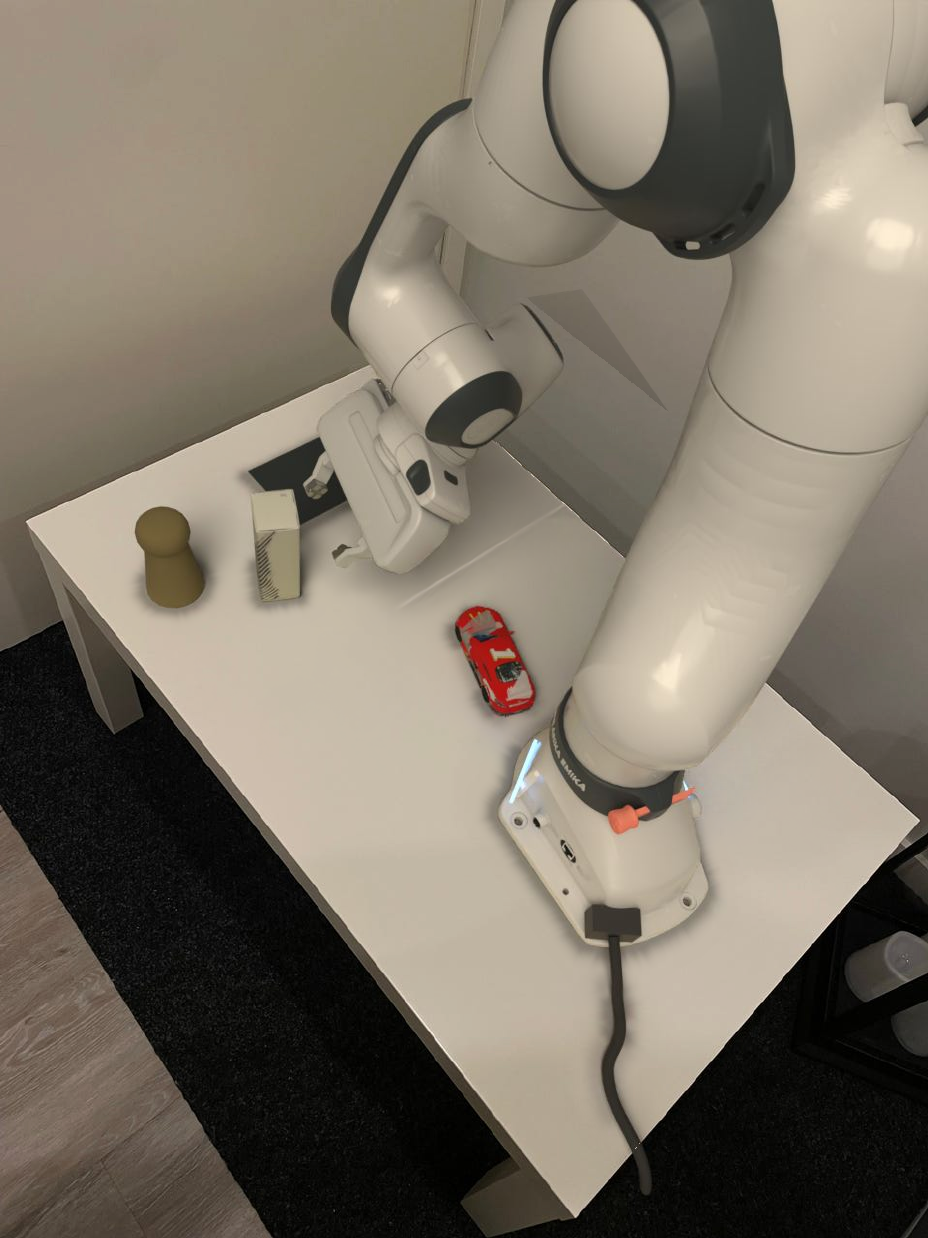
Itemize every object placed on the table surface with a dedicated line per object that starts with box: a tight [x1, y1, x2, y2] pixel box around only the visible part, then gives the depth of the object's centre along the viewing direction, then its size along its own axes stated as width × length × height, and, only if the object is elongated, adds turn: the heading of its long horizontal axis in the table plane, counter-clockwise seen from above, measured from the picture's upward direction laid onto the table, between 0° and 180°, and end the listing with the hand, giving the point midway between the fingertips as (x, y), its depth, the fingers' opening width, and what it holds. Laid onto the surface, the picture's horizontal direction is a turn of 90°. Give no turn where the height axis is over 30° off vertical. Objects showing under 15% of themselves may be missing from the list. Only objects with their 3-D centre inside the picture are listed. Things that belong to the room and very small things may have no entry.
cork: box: [134, 505, 206, 609], centre depth 89 cm, size 6×6×11 cm
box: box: [250, 489, 301, 602], centre depth 90 cm, size 5×4×13 cm
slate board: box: [247, 436, 348, 526], centre depth 105 cm, size 20×10×1 cm, turn 131°
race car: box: [454, 605, 536, 718], centre depth 92 cm, size 13×5×4 cm, turn 20°
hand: (323, 526), depth 90 cm, fingers open, 8 cm apart
